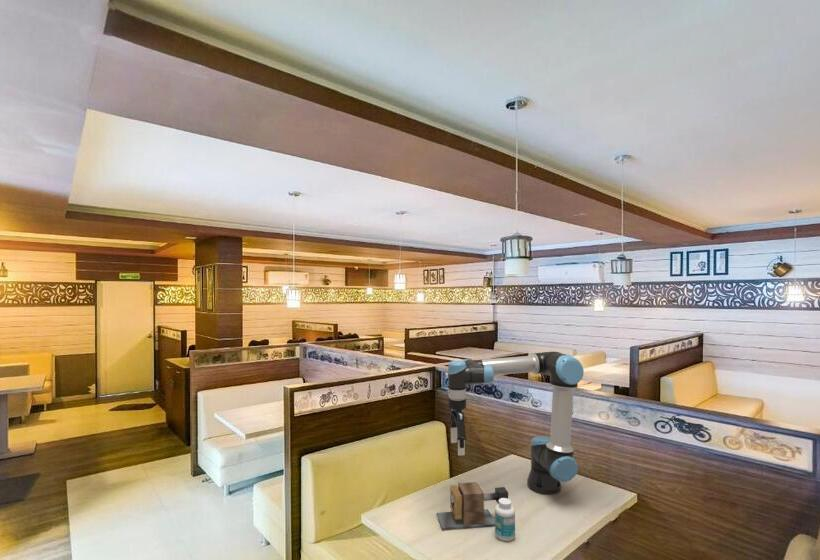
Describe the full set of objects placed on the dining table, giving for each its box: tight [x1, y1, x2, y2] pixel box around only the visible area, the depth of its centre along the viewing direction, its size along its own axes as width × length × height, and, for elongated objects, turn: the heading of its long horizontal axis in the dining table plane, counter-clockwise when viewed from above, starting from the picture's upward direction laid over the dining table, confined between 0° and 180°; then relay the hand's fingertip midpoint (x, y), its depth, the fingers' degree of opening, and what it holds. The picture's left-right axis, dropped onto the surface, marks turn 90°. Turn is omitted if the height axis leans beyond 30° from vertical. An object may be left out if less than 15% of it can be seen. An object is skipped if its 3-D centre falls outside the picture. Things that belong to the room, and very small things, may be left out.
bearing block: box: [436, 481, 495, 531], centre depth 169 cm, size 22×11×13 cm, turn 97°
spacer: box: [449, 484, 462, 519], centre depth 169 cm, size 2×9×9 cm, turn 7°
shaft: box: [451, 486, 509, 505], centre depth 170 cm, size 23×4×5 cm, turn 97°
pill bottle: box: [494, 498, 516, 542], centre depth 159 cm, size 8×7×14 cm
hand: (457, 448), depth 177 cm, fingers open, 13 cm apart
